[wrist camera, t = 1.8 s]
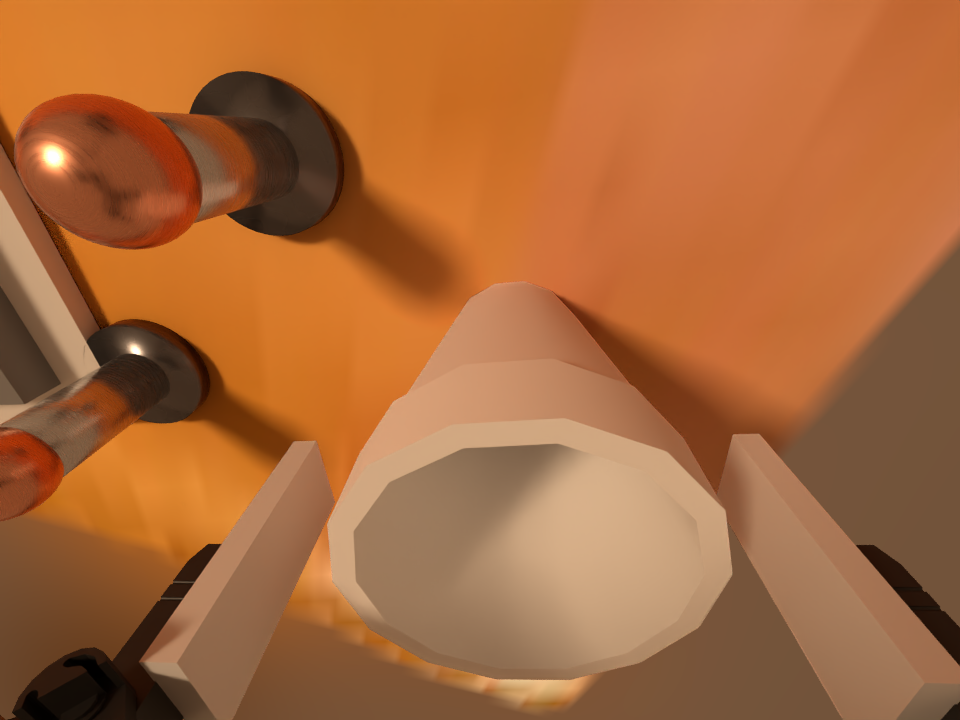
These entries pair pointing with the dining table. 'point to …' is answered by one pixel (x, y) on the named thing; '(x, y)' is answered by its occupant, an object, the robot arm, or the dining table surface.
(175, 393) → the pegs
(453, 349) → the foam cup
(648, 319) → the dining table surface
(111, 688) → the robot arm
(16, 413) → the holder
